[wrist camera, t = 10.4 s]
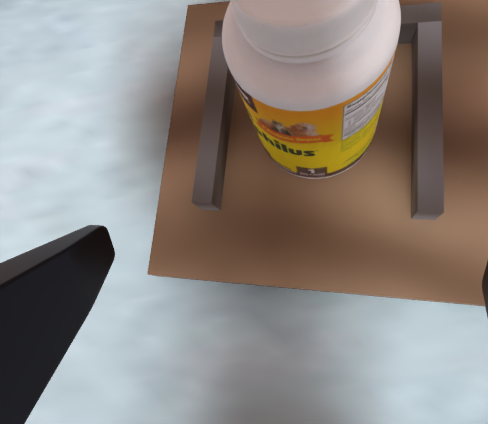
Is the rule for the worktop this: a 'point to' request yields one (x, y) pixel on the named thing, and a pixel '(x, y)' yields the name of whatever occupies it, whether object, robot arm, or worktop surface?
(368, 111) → the supplement bottle
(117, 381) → the worktop surface
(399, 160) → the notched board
